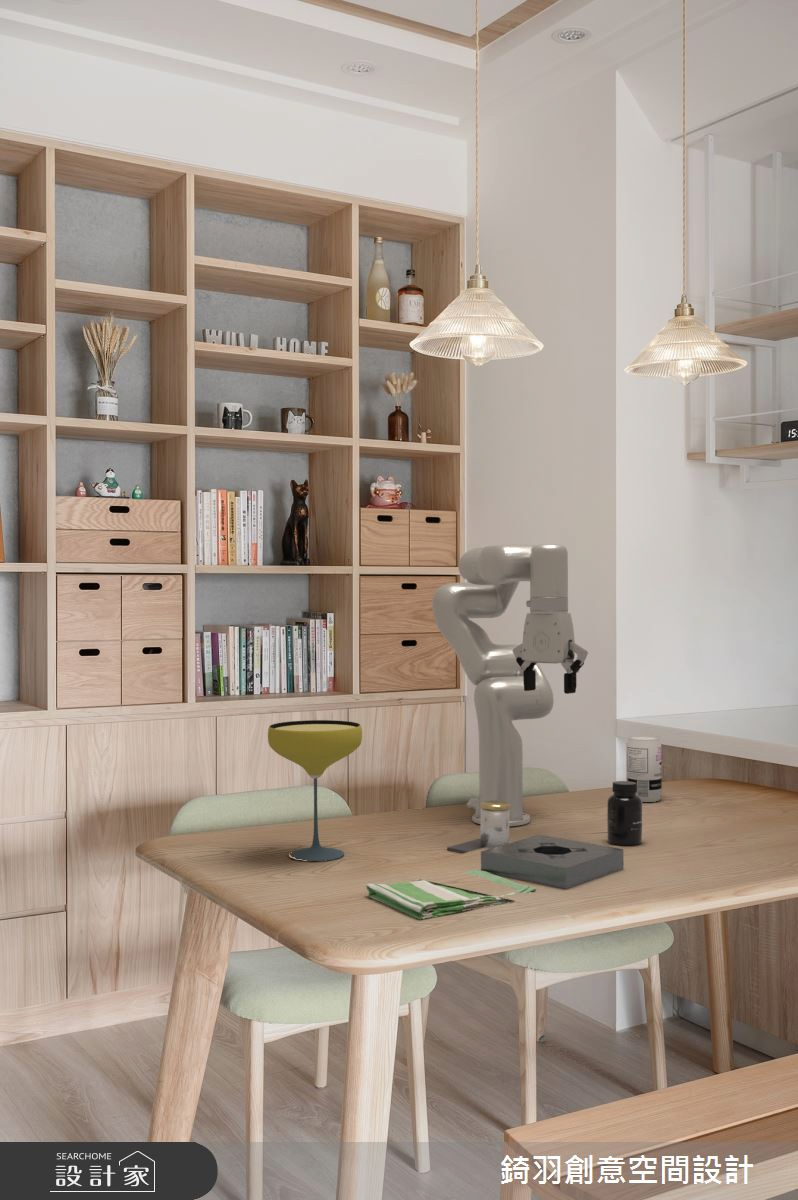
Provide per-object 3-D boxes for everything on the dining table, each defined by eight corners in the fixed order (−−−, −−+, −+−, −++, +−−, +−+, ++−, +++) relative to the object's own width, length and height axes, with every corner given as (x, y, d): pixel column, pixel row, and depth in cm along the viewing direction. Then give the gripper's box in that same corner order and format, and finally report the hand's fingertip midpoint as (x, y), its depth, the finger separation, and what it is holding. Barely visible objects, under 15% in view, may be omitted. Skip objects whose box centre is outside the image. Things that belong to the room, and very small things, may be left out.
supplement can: (622, 797, 272) (621, 736, 271) (655, 796, 272) (654, 735, 272) (632, 803, 264) (632, 740, 263) (666, 802, 264) (666, 739, 264)
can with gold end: (473, 846, 218) (474, 803, 218) (492, 841, 222) (493, 799, 222) (496, 851, 214) (497, 807, 214) (515, 846, 218) (516, 803, 218)
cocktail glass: (270, 845, 223) (268, 720, 222) (360, 843, 224) (359, 719, 224) (267, 868, 205) (266, 732, 204) (365, 865, 206) (364, 730, 206)
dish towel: (539, 900, 184) (539, 884, 184) (422, 924, 171) (422, 907, 171) (474, 877, 199) (473, 862, 199) (361, 898, 186) (361, 882, 186)
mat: (447, 850, 218) (447, 847, 218) (488, 839, 227) (488, 836, 227) (500, 860, 209) (500, 857, 209) (540, 848, 219) (540, 845, 219)
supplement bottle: (642, 847, 219) (642, 786, 219) (607, 845, 221) (606, 785, 221) (642, 839, 226) (641, 780, 226) (607, 838, 228) (607, 779, 227)
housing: (481, 876, 197) (480, 851, 197) (540, 858, 211) (540, 834, 211) (566, 895, 185) (566, 868, 185) (623, 874, 199) (623, 849, 198)
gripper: (503, 606, 226) (503, 690, 226) (575, 606, 215) (575, 695, 215) (525, 605, 232) (525, 688, 232) (596, 606, 220) (596, 692, 220)
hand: (549, 691), depth 223 cm, fingers open, 9 cm apart
